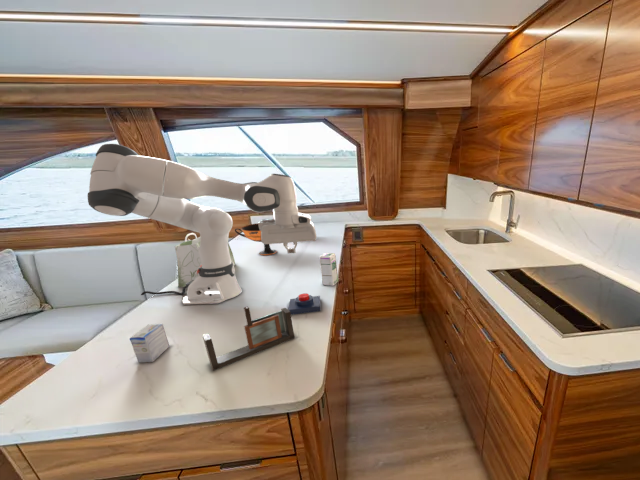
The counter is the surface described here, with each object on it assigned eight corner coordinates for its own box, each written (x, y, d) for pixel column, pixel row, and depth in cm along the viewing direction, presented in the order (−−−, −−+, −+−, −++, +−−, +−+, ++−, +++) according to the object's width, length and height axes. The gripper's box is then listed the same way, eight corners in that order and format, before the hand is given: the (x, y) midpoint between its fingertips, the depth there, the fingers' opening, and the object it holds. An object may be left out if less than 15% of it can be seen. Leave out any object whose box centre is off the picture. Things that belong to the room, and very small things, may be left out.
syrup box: (333, 285, 141) (330, 256, 136) (322, 285, 142) (319, 256, 137) (338, 281, 146) (335, 253, 141) (327, 280, 147) (324, 252, 142)
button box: (288, 315, 114) (287, 305, 113) (290, 303, 124) (289, 295, 122) (320, 311, 117) (319, 302, 116) (320, 300, 126) (319, 291, 125)
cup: (301, 247, 205) (298, 221, 199) (288, 258, 181) (284, 230, 175) (249, 247, 205) (245, 222, 199) (230, 259, 181) (223, 231, 175)
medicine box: (156, 347, 96) (148, 323, 93) (170, 346, 96) (163, 323, 93) (137, 363, 88) (128, 338, 85) (153, 362, 89) (144, 337, 86)
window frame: (213, 370, 85) (205, 340, 81) (210, 364, 87) (202, 335, 84) (294, 338, 100) (290, 311, 96) (289, 333, 102) (285, 307, 99)
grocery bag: (212, 264, 172) (202, 225, 164) (236, 264, 173) (228, 224, 165) (176, 287, 142) (163, 240, 134) (207, 285, 143) (195, 239, 135)
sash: (249, 350, 91) (241, 310, 86) (248, 348, 91) (240, 308, 87) (282, 337, 97) (275, 299, 92) (280, 335, 98) (274, 298, 93)
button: (298, 302, 117) (298, 298, 116) (299, 297, 121) (298, 294, 120) (309, 300, 118) (308, 296, 117) (309, 296, 121) (308, 292, 121)
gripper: (255, 221, 107) (262, 257, 112) (314, 218, 112) (318, 253, 117) (259, 218, 113) (264, 252, 118) (314, 215, 118) (318, 248, 123)
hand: (291, 253), depth 117 cm, fingers closed
